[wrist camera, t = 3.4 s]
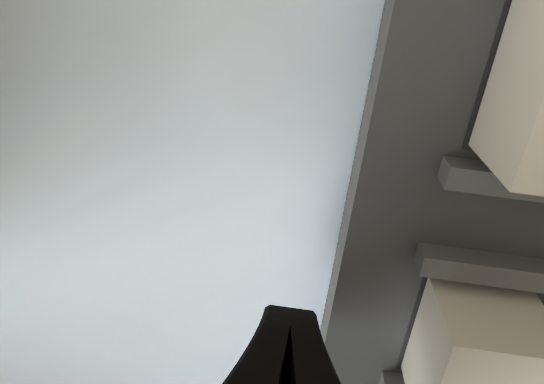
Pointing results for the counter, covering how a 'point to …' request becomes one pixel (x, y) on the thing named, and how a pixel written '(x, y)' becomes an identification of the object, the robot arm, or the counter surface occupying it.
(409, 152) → the switch panel
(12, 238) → the counter surface
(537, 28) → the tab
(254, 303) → the counter surface
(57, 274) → the counter surface
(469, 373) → the tab middle
